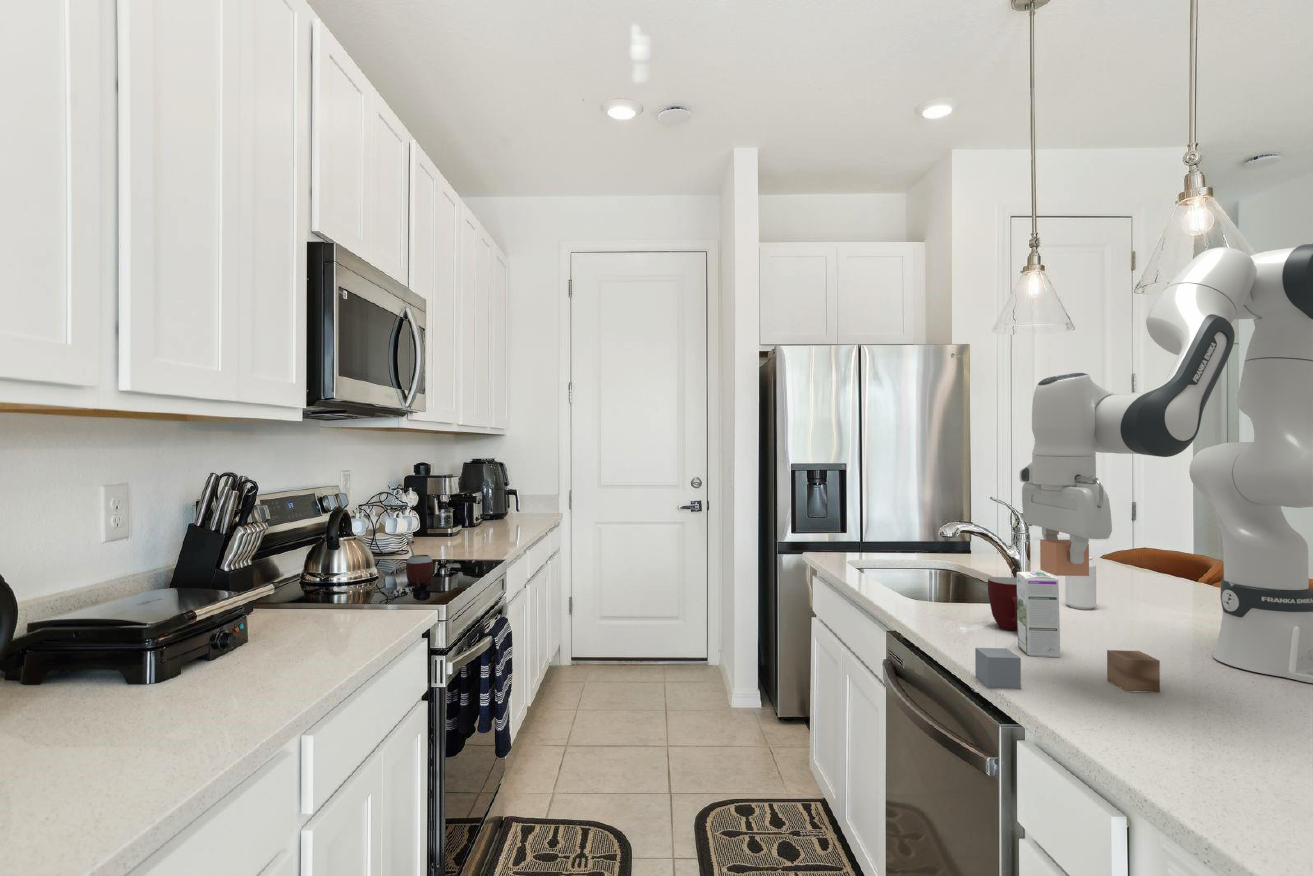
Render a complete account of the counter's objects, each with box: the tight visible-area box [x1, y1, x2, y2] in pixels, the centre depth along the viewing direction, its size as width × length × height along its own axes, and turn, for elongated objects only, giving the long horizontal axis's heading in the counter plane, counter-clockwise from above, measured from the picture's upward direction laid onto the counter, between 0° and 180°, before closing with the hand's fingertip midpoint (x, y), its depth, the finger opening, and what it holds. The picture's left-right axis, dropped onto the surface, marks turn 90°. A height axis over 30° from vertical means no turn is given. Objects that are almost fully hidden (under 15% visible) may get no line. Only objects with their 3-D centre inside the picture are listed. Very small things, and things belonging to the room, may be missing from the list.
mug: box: [987, 576, 1018, 632], centre depth 140 cm, size 10×8×10 cm
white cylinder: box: [1064, 555, 1097, 611], centre depth 159 cm, size 6×6×12 cm
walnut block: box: [1106, 649, 1161, 693], centre depth 108 cm, size 5×5×5 cm
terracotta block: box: [1039, 538, 1090, 577], centre depth 109 cm, size 5×5×5 cm
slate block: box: [974, 647, 1022, 690], centre depth 109 cm, size 5×5×5 cm
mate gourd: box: [400, 532, 434, 589], centre depth 185 cm, size 8×8×15 cm
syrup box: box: [1016, 571, 1061, 658], centre depth 125 cm, size 6×6×14 cm
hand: (1064, 559), depth 109 cm, fingers closed on terracotta block, 5 cm apart
